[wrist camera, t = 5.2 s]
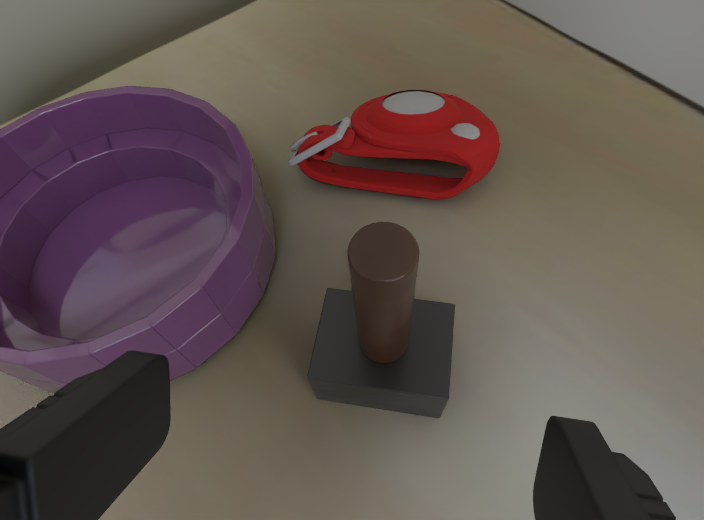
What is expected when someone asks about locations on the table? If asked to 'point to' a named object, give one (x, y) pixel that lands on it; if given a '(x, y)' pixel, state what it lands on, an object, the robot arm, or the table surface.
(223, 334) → the bowl
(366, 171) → the tracker holder
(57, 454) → the robot arm
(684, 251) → the table surface
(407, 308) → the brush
